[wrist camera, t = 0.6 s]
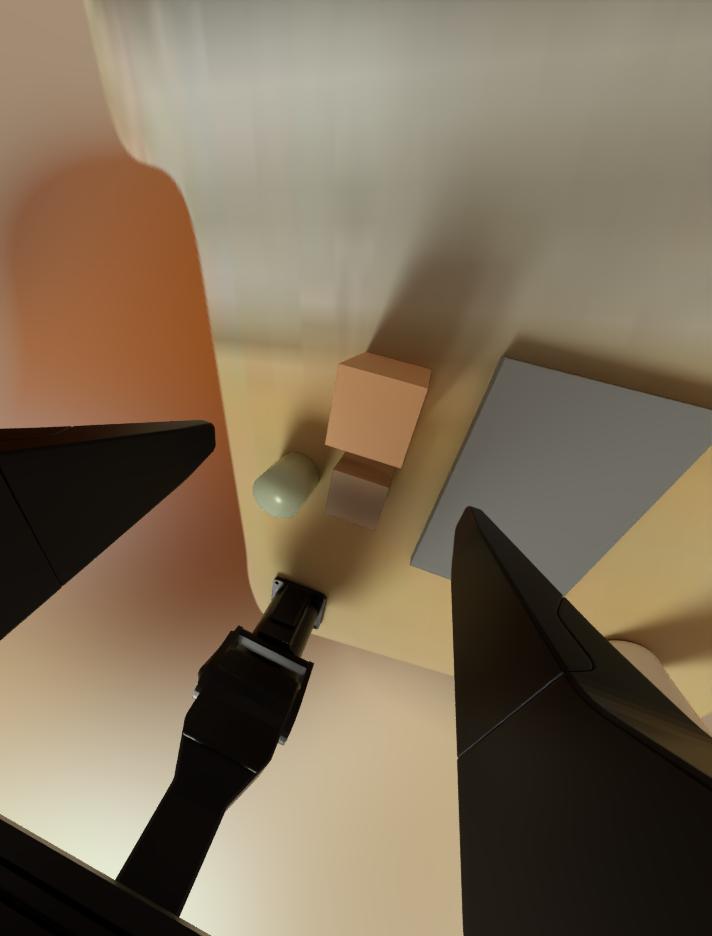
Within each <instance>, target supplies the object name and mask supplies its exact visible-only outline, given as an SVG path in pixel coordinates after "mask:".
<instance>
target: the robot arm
mask: <svg viewBox="0 0 712 936" xmlns="http://www.w3.org/2000/svg"><path fill="white" fill-rule="evenodd" d="M215 446H216V442H215V427H214V425H213V424H212V423H210V422H207V421H204V420H190V421H169V422H148V423H127V424H106V425H88V426H87V425H85V426H73V427H71V426H66V427H65V426H64V427H41V428H11V429H10V428H9V429H0V640H2V639H3V638H4V637H5V636H6V635H7V634H9V633H10V632H11V631H12V630H13V629H14V628H16V627H17V626H18V625H19V624H20V623H21V622H22V621H24V620H25V619H26V618H27V617H28V616H29V615H31V614H32V613H33V612H34V611H35V610H36V609H37V608H39V607H40V606H41V605H42V604H43V603H44V602H46V601H47V600H48V599H49V598H50V597H51V596H53V595H54V594H55V593H56V592H57V591H58V590H59V589H61V587H62V586H63V585H65V584H66V583H67V582H68V581H69V580H71V579H72V578H73V577H74V576H75V575H76V574H78V573H79V572H80V571H81V570H82V569H83V568H84V567H86V566H87V565H88V564H89V563H90V562H91V561H93V560H94V559H95V558H96V557H97V556H98V555H100V553H102V552H103V551H104V550H105V549H107V548H108V547H109V546H110V545H111V544H112V543H114V542H115V541H116V540H117V539H118V538H119V537H120V536H122V535H123V534H124V533H125V532H126V531H127V530H129V529H130V528H131V527H132V526H133V525H134V524H136V523H137V522H138V521H139V520H140V519H141V518H142V517H144V516H145V515H146V514H147V513H148V512H149V511H151V510H152V509H153V508H154V507H155V506H156V505H158V504H159V503H160V502H161V501H162V500H163V499H164V498H166V497H167V496H168V495H169V494H170V493H171V492H172V491H174V490H175V489H176V488H177V487H178V486H180V485H181V484H182V483H183V482H184V481H185V480H186V479H187V478H188V477H189V476H190V475H191V474H192V473H193V472H194V471H195V470H196V469H197V468H198V467H199V466H200V465H201V463H202V462H203V461H204V460H205V459H206V458H207V457H208V456H209V455H210V454H211V453H212V452H213V451H214V448H215ZM451 593H452V622H453V650H454V678H455V703H456V704H455V707H456V734H457V757H458V759H457V769H458V800H459V828H460V857H461V886H462V914H463V935H464V936H712V737H711V736H710V735H709V734H707V733H706V732H705V731H704V730H702V729H701V728H700V727H699V726H698V725H697V724H696V723H694V722H693V721H692V720H691V719H690V718H689V717H688V716H687V715H686V714H685V713H684V712H682V711H681V710H680V709H679V708H678V707H677V706H676V705H675V704H674V703H673V702H672V701H671V700H670V699H669V698H668V697H667V696H666V695H664V694H663V693H662V692H661V691H660V690H659V689H658V688H657V687H656V686H655V685H654V684H653V683H652V682H651V681H650V680H649V679H648V678H647V677H645V676H644V675H643V674H642V673H641V672H640V671H639V670H638V669H637V668H636V667H635V666H634V665H633V664H632V663H631V662H630V661H629V660H628V659H626V658H625V657H624V656H623V655H622V654H621V653H620V652H619V651H618V650H617V649H616V648H615V647H614V646H613V645H612V644H611V643H610V642H609V641H608V640H607V639H606V638H605V637H604V636H603V635H601V634H600V633H599V632H598V631H597V630H596V629H595V628H594V627H593V626H592V625H591V624H590V623H589V622H588V621H587V619H586V618H585V617H584V616H583V615H582V614H581V613H580V612H579V611H578V610H577V609H576V608H575V607H574V606H573V605H572V604H571V603H570V602H569V601H568V600H567V599H566V598H565V597H563V595H562V594H561V593H560V592H559V590H558V589H557V588H556V587H555V586H554V585H553V584H552V583H551V582H550V581H549V580H548V579H547V578H546V577H545V576H544V575H543V574H542V573H541V572H540V571H539V570H538V568H537V567H536V566H535V565H534V564H533V563H532V562H531V561H530V560H529V559H528V558H527V557H526V556H525V555H524V554H523V553H522V552H521V551H520V550H519V549H518V548H517V546H516V545H515V544H514V543H513V542H512V541H511V540H510V539H509V538H508V537H507V536H506V535H505V534H504V533H503V532H502V531H501V530H500V529H499V528H498V527H497V526H496V524H495V523H494V522H493V521H492V520H491V519H490V518H489V517H488V516H487V515H486V514H485V513H484V512H483V511H482V510H481V509H478V508H475V507H472V506H467V507H466V508H465V510H464V512H463V514H462V516H461V518H460V520H459V521H458V523H457V525H456V528H455V534H454V545H453V555H452V566H451ZM562 597H563V598H562ZM325 602H326V596H325V595H323V594H321V593H318V592H315V591H313V590H310V589H308V588H305V587H303V586H300V585H297V584H295V583H292V582H290V581H287V580H284V579H282V578H279V577H275V579H274V580H273V587H272V599H271V603H270V604H269V606H268V608H267V609H266V611H265V613H264V614H263V616H262V618H261V619H260V621H259V623H258V624H257V626H256V628H255V629H254V631H253V633H251V632H249V631H247V630H245V629H243V627H241V626H238V627H237V628H236V630H235V631H231V632H230V633H229V634H228V636H227V637H226V639H225V641H224V642H223V643H222V645H221V646H220V647H219V648H218V650H217V651H216V652H215V653H214V654H213V655H212V656H211V657H210V659H209V660H208V661H207V662H206V663H205V664H204V665H203V666H202V667H201V669H200V670H199V672H198V677H199V678H198V679H199V681H198V683H197V685H196V688H195V691H194V693H193V696H192V698H194V699H195V701H194V703H193V704H192V706H191V708H190V709H189V711H188V712H187V714H186V717H185V720H184V727H183V731H182V737H181V742H180V748H179V754H178V760H177V764H176V770H175V776H174V779H173V781H172V783H171V784H170V786H169V788H168V790H167V792H166V793H165V795H164V797H163V799H162V800H161V802H160V804H159V805H158V807H157V809H156V811H155V812H154V814H153V816H152V817H151V819H150V821H149V823H148V824H147V826H146V828H145V830H144V831H143V833H142V835H141V836H140V838H139V840H138V842H137V843H136V845H135V847H134V848H133V850H132V852H131V854H130V856H129V857H128V859H127V861H126V862H125V864H124V866H123V868H122V869H121V871H120V873H119V874H118V876H117V878H116V880H114V879H112V878H110V877H108V876H107V875H105V874H103V873H101V872H100V871H98V870H96V869H94V868H93V867H91V866H89V865H88V864H86V863H84V862H82V861H81V860H79V859H77V858H75V857H74V856H72V855H70V854H68V853H67V852H65V851H63V850H61V849H60V848H58V847H56V846H55V845H53V844H51V843H49V842H48V841H46V840H44V839H42V838H41V837H39V836H37V835H35V834H34V833H32V832H30V831H29V830H27V829H25V828H23V827H22V826H20V825H18V824H16V823H15V822H13V821H11V820H10V819H7V818H6V817H4V816H3V815H1V814H0V936H211V935H209V934H207V933H205V932H204V931H202V930H200V929H198V928H197V927H195V926H193V925H191V924H190V923H188V922H186V921H185V920H183V919H181V918H179V916H180V914H181V912H182V909H183V907H184V905H185V902H186V900H187V898H188V895H189V893H190V891H191V889H192V886H193V884H194V882H195V880H196V877H197V875H198V872H199V870H200V868H201V866H202V864H203V861H204V859H205V857H206V854H207V852H208V850H209V847H210V845H211V843H212V840H213V838H214V836H215V834H216V831H217V829H218V827H219V825H220V822H221V820H222V817H223V815H224V813H225V811H226V810H227V809H228V808H229V807H230V806H231V805H232V804H233V803H234V802H235V801H236V800H237V799H238V798H239V797H240V796H241V795H242V793H243V792H244V791H245V790H246V789H247V788H248V787H249V786H250V785H251V784H252V783H253V782H254V781H255V780H256V779H257V778H258V777H259V775H260V774H261V773H262V771H263V770H264V769H265V767H266V766H267V765H268V763H269V762H270V761H271V759H272V756H273V754H274V751H275V748H276V746H277V744H278V743H279V744H281V745H284V744H285V742H286V740H287V738H288V736H289V734H290V732H291V729H292V727H293V724H294V722H295V719H296V717H297V714H298V711H299V709H300V706H301V703H302V699H303V696H304V693H305V690H306V687H307V684H308V681H309V678H310V674H311V671H312V668H313V665H314V663H312V662H310V661H309V662H308V661H306V660H304V659H302V658H301V656H302V653H303V651H304V648H305V646H306V644H307V641H308V639H309V636H310V634H311V631H312V629H313V628H314V629H318V628H319V626H320V622H321V618H322V614H323V610H324V606H325Z"/></svg>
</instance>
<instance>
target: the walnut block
mask: <svg viewBox="0 0 712 936" xmlns="http://www.w3.org/2000/svg"><path fill="white" fill-rule="evenodd" d="M394 470H395V467H394V466H391V465H388V464H385V463H382V462H378V461H375V460H372V459H369V458H366V457H363V456H359V455H356V454H353V453H350V452H347V451H346V452H345V453H344V455H343V456H342V458H341V459H340V461H339V462H338V463H337V465H336V466H335V468H334V469H333V473H332V478H331V483H330V488H329V493H328V498H327V503H326V509H325V514H327V515H330V516H333V517H335V518H338V519H341V520H344V521H347V522H350V523H353V524H356V525H359V526H361V527H364V528H367V529H370V530H373V531H375V529H376V526H377V523H378V520H379V517H380V514H381V511H382V508H383V505H384V502H385V499H386V496H387V493H388V490H389V487H390V483H391V480H392V477H393V473H394Z"/></svg>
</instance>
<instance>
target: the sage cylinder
mask: <svg viewBox="0 0 712 936" xmlns="http://www.w3.org/2000/svg"><path fill="white" fill-rule="evenodd" d="M318 482H319V472H318V469H317V467H316V465H315V464H314V463H313V462H312V461H311V460H310V459H309V458H308V457H306V456H304V455H302V454H299V453H288V454H286V455H284V456H283V457H282V458H280V459H279V460H278V461H277V462H276V463H275V464H274V465H272V466H271V467H270V468H269V469H268V470H267V471H266V472H264V473H263V474H262V475H261V476H260V477H259V478H258V479H257V480H256V481H255V482H254V485H253V495H254V498H255V500H256V502H257V503H258V505H259V506H260V507H261V508H262V509H263V510H264V511H265V512H267V513H268V514H270V515H272V516H274V517H277V518H290V517H292V516H294V515H295V514H296V513H297V512H298V511H299V509H300V508H301V507H302V505H303V504H304V502H305V501H306V500H307V498H308V497H309V496H310V494H311V493H312V492H313V490H314V489H315V488H316V486H317V485H318Z"/></svg>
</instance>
